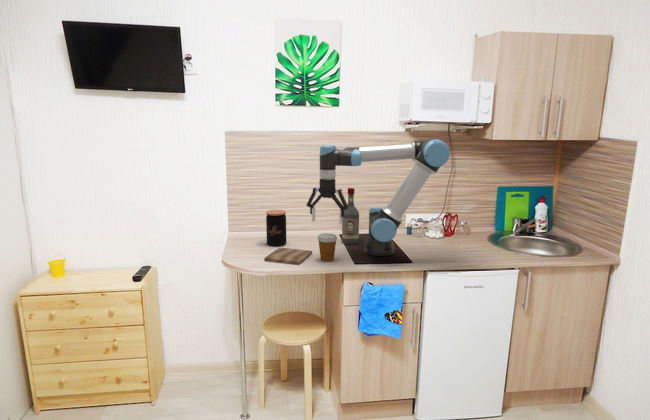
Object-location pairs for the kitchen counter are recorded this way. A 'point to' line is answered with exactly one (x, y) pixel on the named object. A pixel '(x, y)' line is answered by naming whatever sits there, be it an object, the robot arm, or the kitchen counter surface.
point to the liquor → (350, 221)
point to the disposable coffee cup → (327, 246)
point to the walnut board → (288, 256)
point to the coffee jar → (276, 227)
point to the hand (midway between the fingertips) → (326, 222)
